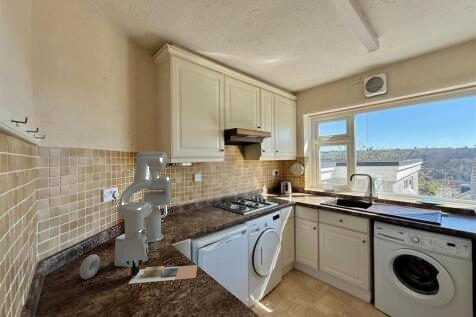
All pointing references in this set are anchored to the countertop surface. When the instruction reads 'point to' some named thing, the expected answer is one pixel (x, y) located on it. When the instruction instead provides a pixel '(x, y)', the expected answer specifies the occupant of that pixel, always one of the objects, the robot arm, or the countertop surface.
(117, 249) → the skincare box
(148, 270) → the turner
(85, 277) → the donut
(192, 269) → the board
